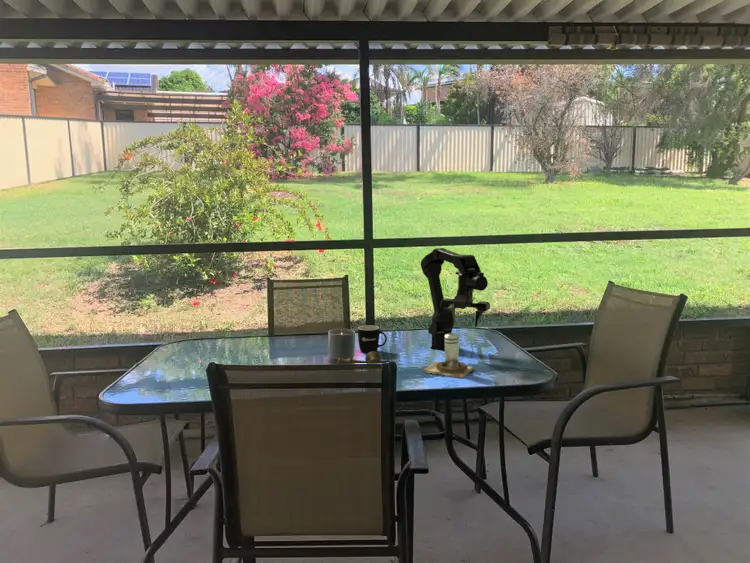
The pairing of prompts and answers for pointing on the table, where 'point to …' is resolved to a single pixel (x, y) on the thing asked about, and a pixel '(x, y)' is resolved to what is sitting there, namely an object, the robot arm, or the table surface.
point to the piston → (451, 350)
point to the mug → (369, 338)
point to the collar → (448, 370)
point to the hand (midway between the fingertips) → (464, 326)
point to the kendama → (370, 358)
